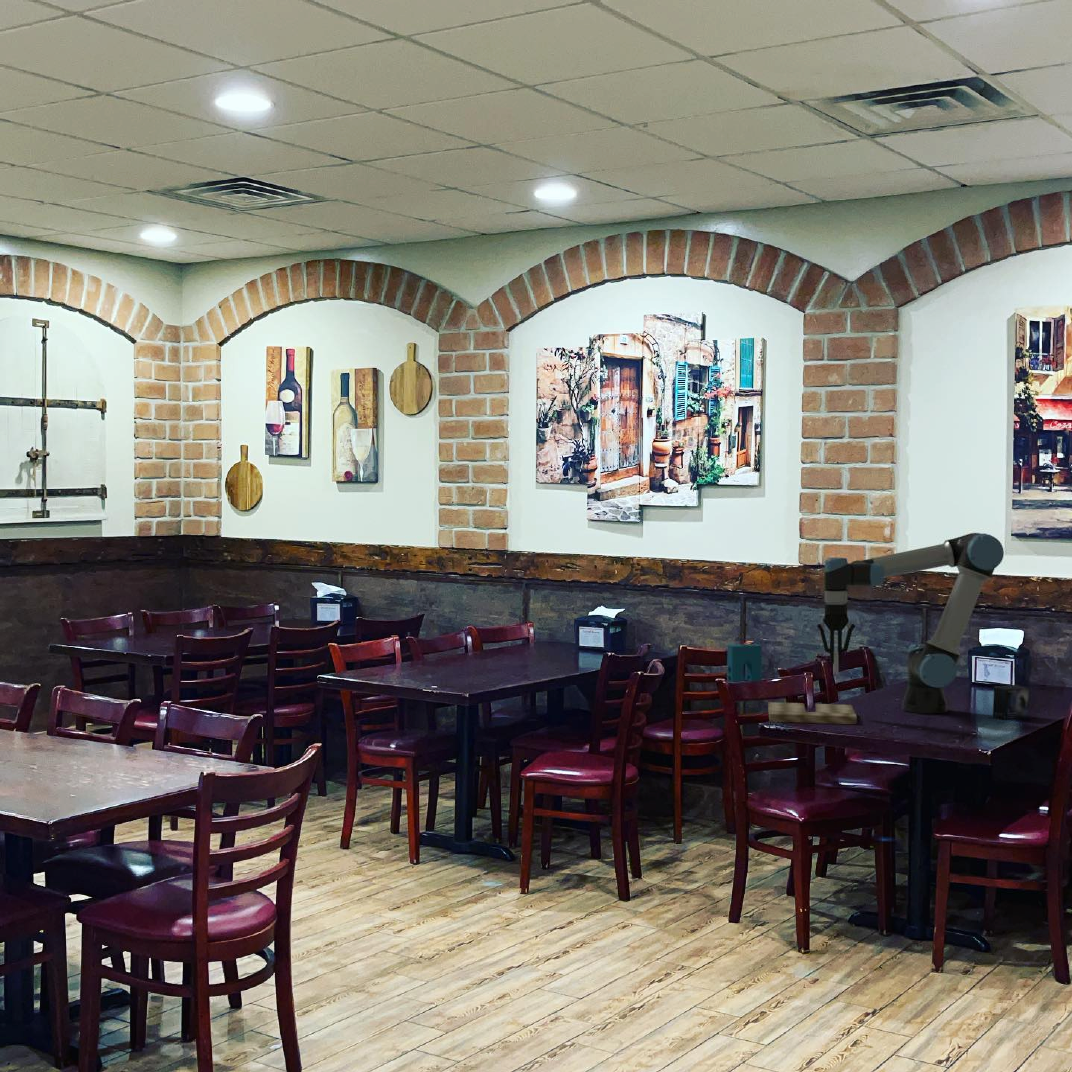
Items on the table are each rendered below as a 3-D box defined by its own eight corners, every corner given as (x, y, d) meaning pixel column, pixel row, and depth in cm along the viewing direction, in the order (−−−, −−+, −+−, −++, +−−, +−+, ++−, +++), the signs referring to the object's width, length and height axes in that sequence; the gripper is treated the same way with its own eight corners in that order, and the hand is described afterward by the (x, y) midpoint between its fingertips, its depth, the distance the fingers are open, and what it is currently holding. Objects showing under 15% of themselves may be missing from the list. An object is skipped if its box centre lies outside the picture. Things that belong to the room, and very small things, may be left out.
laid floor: (854, 721, 450) (855, 713, 450) (856, 724, 444) (856, 716, 444) (769, 718, 454) (769, 710, 454) (769, 721, 448) (769, 713, 448)
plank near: (851, 712, 463) (851, 704, 463) (854, 720, 450) (854, 713, 450) (815, 711, 465) (815, 703, 464) (817, 719, 452) (818, 712, 452)
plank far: (803, 710, 465) (803, 703, 465) (805, 719, 452) (805, 711, 452) (768, 709, 467) (768, 702, 467) (769, 718, 454) (769, 710, 454)
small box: (1006, 720, 454) (1007, 689, 454) (991, 717, 460) (992, 686, 459) (1029, 717, 459) (1030, 687, 458) (1014, 714, 465) (1015, 684, 464)
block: (755, 698, 495) (755, 643, 494) (762, 700, 490) (762, 645, 490) (725, 700, 491) (726, 645, 490) (732, 702, 486) (733, 646, 486)
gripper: (854, 602, 462) (854, 671, 463) (815, 602, 464) (815, 671, 465) (856, 604, 454) (856, 674, 455) (816, 604, 456) (816, 674, 457)
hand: (835, 672), depth 460 cm, fingers closed
